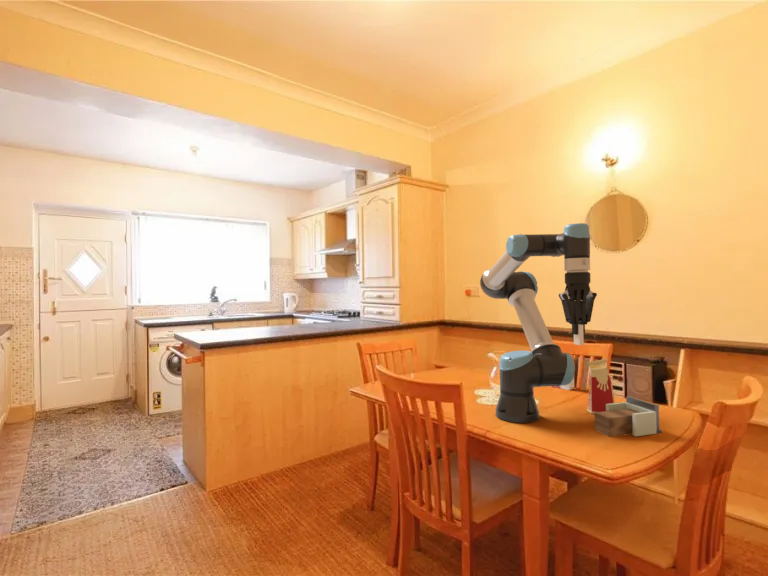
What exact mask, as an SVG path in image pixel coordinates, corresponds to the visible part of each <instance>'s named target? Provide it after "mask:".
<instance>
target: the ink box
mask: <svg viewBox="0 0 768 576" xmlns="http://www.w3.org/2000/svg"><path fill="white" fill-rule="evenodd" d="M551 387H553V388H557V389H562V390H566V391H570V390H573V389H575V377H574V378H573V380H572V381H571V383H570V384H568V385H562V386H551Z"/></svg>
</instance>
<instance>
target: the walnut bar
mask: <svg viewBox="0 0 768 576" xmlns="http://www.w3.org/2000/svg"><path fill="white" fill-rule="evenodd" d="M632 413H640V412H639V411H636V410H633V409H623V410H613V411H604V412H595V414H594V431H596V432H598V433H600V434H603V435H604V436H606V437H618V436H625V435H624V434H627V435H633V422H632Z"/></svg>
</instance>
